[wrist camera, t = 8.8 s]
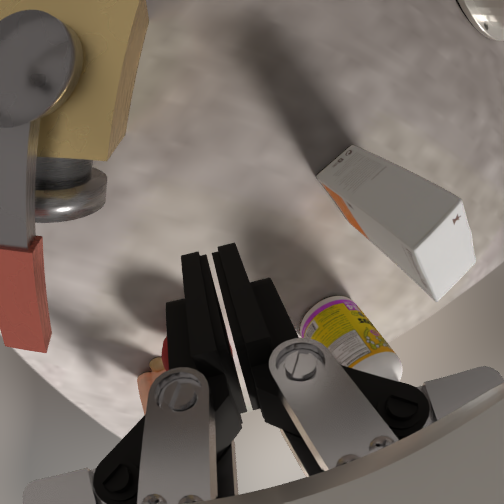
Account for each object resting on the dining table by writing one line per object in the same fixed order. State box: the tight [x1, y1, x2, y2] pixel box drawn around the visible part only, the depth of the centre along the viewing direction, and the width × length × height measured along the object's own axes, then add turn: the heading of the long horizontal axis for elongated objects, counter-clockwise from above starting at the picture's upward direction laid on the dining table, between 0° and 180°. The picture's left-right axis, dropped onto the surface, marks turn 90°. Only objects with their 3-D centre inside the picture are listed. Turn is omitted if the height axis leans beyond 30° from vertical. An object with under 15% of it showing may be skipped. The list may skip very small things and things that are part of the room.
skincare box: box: [316, 145, 476, 302], centre depth 21 cm, size 6×4×12 cm
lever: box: [0, 10, 83, 353], centre depth 11 cm, size 16×5×2 cm, turn 165°
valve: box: [0, 0, 149, 223], centre depth 13 cm, size 15×8×8 cm, turn 166°
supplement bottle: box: [300, 296, 403, 382], centre depth 28 cm, size 7×7×13 cm
